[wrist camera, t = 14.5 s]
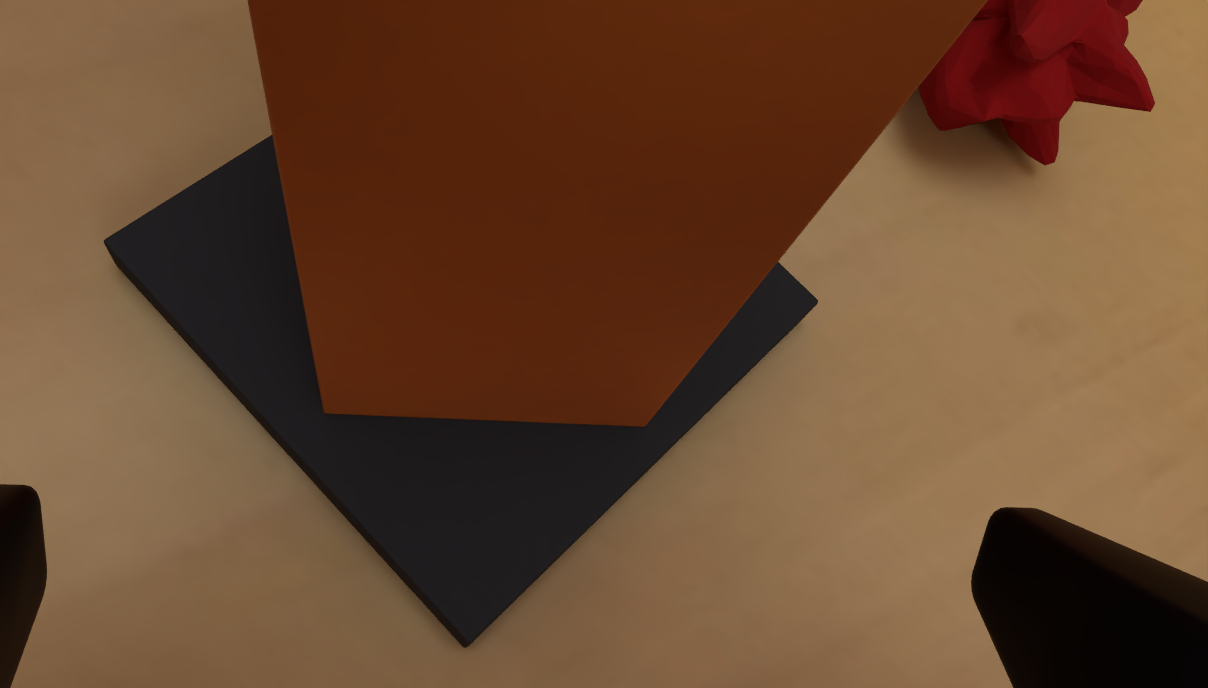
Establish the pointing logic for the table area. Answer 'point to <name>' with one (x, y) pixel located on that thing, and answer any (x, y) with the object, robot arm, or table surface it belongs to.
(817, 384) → the table surface
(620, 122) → the orange block
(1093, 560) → the robot arm
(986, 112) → the figurine
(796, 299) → the foam pad
